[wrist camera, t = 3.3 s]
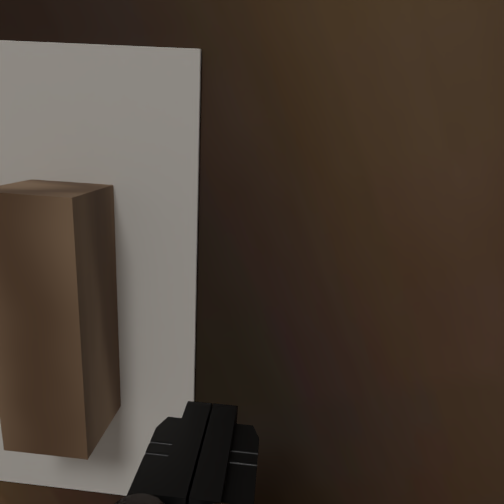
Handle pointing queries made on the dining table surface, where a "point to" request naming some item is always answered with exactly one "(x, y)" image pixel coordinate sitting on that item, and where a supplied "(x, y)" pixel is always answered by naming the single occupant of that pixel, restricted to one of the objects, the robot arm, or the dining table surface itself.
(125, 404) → the mat
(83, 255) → the t block
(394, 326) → the dining table surface
